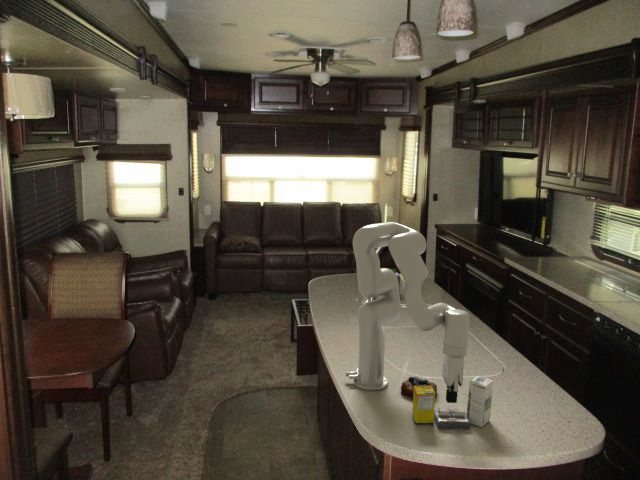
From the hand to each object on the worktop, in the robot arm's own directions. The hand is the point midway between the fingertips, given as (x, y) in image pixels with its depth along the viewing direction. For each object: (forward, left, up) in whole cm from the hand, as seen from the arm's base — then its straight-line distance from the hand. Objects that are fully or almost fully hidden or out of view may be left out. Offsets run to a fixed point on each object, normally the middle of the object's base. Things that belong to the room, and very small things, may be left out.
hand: (451, 401), depth 179 cm
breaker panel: (0, -2, -7) cm, 7 cm away
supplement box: (-9, -1, -7) cm, 11 cm away
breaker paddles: (0, -1, -4) cm, 4 cm away
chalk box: (-4, +141, -7) cm, 141 cm away
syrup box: (+9, -1, -7) cm, 11 cm away
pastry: (-7, +18, -7) cm, 21 cm away
